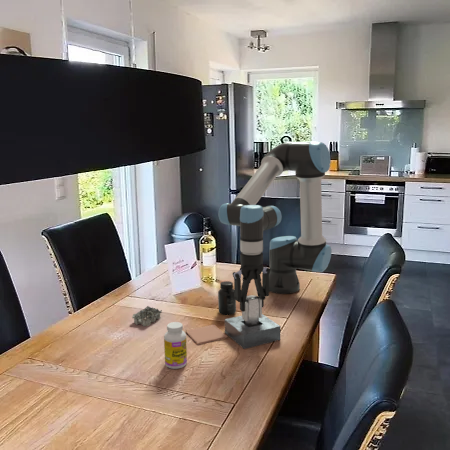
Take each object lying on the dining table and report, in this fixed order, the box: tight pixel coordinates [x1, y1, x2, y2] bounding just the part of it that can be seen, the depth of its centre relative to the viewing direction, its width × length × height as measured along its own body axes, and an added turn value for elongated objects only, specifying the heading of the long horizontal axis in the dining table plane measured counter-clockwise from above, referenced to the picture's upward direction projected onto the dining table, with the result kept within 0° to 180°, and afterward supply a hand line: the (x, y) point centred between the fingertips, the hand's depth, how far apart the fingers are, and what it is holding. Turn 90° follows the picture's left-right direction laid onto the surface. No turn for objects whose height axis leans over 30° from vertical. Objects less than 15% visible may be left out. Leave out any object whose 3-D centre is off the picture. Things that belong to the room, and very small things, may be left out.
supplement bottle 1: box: [163, 321, 188, 370], centre depth 142 cm, size 7×7×13 cm
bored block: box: [224, 313, 281, 350], centre depth 161 cm, size 14×14×5 cm
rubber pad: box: [185, 324, 228, 345], centre depth 163 cm, size 11×11×1 cm
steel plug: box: [245, 294, 259, 327], centre depth 160 cm, size 5×5×14 cm
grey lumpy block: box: [131, 305, 163, 327], centre depth 176 cm, size 11×8×4 cm
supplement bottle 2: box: [217, 280, 237, 316], centre depth 181 cm, size 7×7×12 cm
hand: (251, 317), depth 160 cm, fingers closed on steel plug, 5 cm apart
